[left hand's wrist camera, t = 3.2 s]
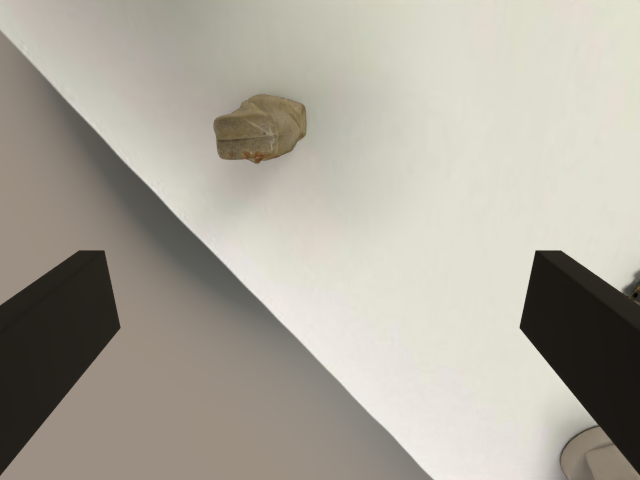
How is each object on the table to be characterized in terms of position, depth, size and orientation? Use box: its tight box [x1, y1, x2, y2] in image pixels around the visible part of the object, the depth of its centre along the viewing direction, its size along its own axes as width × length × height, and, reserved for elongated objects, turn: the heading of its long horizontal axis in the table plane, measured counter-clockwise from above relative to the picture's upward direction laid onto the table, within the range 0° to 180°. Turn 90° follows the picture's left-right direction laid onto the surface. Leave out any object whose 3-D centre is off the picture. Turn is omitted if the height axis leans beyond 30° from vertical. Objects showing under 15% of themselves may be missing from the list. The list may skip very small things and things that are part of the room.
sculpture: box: [214, 94, 306, 164], centre depth 38 cm, size 6×7×15 cm
